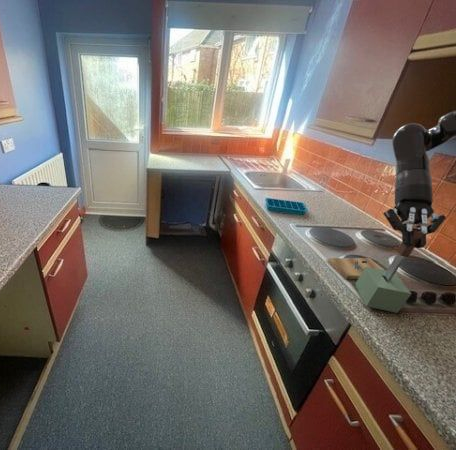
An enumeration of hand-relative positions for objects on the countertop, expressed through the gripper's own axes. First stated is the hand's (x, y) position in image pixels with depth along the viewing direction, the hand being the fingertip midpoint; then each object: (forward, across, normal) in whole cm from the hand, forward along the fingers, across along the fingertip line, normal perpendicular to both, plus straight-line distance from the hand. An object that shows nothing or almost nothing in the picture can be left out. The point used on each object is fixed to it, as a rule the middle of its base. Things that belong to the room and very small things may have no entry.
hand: (413, 246), depth 67 cm
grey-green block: (+14, 0, -17) cm, 21 cm away
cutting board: (+3, 0, -27) cm, 27 cm away
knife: (+8, 0, -11) cm, 13 cm away
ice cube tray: (-30, +20, -60) cm, 70 cm away
